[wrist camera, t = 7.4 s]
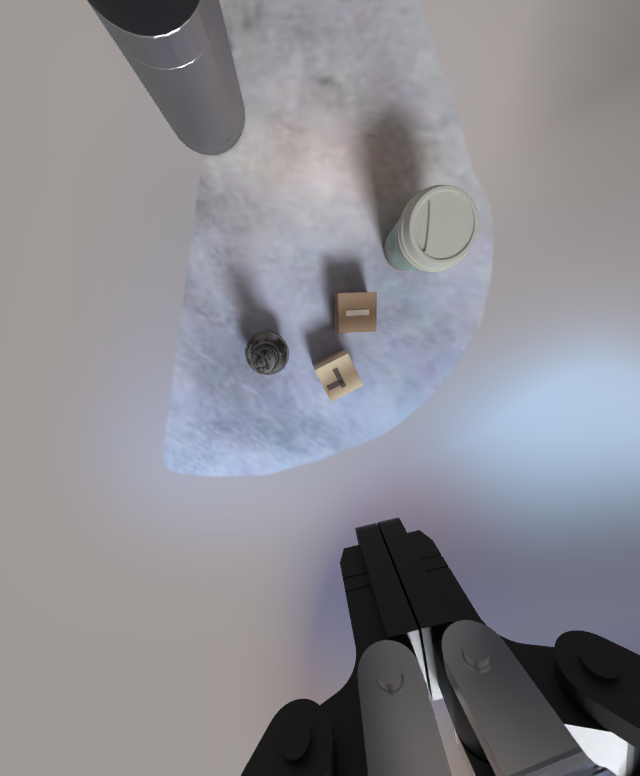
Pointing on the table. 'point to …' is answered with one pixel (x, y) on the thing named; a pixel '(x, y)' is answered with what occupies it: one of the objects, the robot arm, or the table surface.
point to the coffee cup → (433, 230)
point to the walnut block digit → (355, 312)
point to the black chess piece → (267, 353)
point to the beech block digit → (337, 374)
